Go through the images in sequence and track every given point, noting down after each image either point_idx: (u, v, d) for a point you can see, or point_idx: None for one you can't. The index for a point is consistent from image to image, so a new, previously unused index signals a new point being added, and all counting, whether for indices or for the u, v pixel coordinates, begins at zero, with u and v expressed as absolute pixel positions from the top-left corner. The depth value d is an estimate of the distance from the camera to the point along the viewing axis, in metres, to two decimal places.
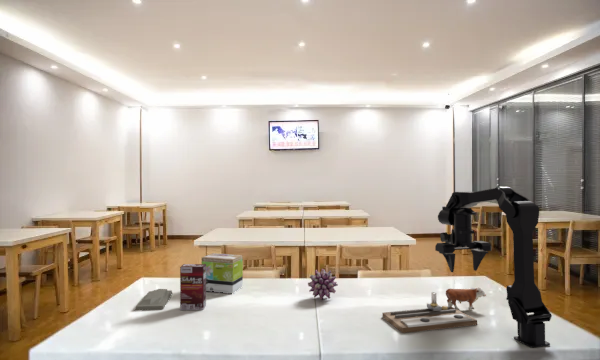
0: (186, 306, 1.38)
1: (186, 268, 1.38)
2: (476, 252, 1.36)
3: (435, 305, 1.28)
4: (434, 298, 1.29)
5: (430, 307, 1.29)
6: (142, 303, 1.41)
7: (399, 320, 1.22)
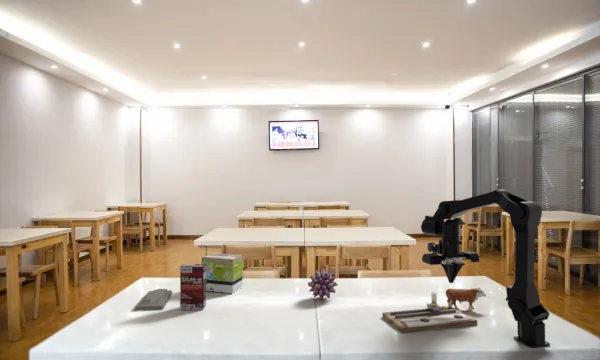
0: (186, 306, 1.38)
1: (186, 268, 1.38)
2: (453, 264, 1.31)
3: (435, 305, 1.28)
4: (434, 298, 1.29)
5: (430, 307, 1.29)
6: (142, 303, 1.41)
7: (399, 320, 1.22)
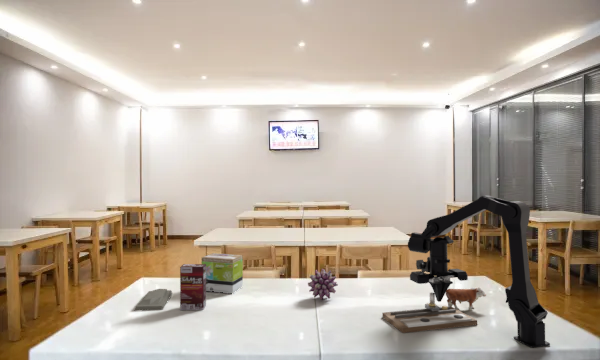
0: (186, 306, 1.38)
1: (186, 268, 1.38)
2: (441, 282, 1.30)
3: (433, 305, 1.28)
4: (432, 298, 1.28)
5: (428, 307, 1.29)
6: (142, 303, 1.41)
7: (399, 320, 1.22)
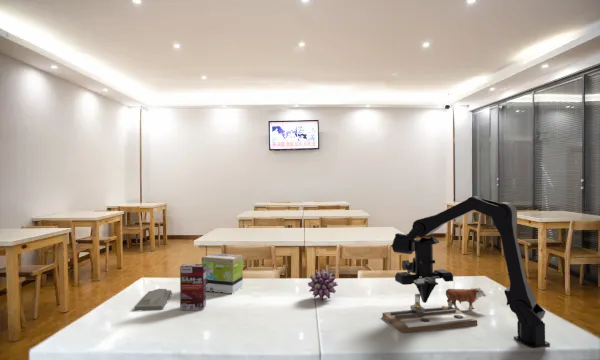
0: (186, 306, 1.38)
1: (186, 268, 1.38)
2: (426, 283, 1.28)
3: (418, 307, 1.27)
4: (417, 299, 1.27)
5: (413, 309, 1.27)
6: (142, 303, 1.41)
7: (399, 320, 1.22)
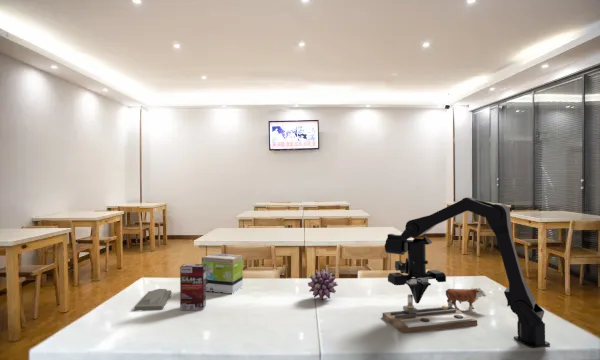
0: (186, 306, 1.38)
1: (186, 268, 1.38)
2: (419, 283, 1.28)
3: (411, 307, 1.26)
4: (410, 300, 1.27)
5: (406, 309, 1.27)
6: (142, 303, 1.41)
7: (399, 320, 1.22)
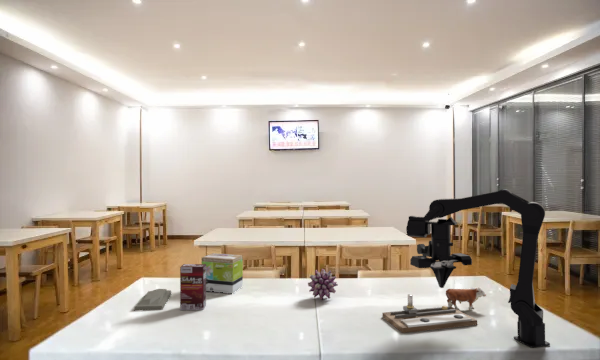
0: (186, 306, 1.38)
1: (186, 268, 1.38)
2: (443, 267, 1.21)
3: (411, 307, 1.26)
4: (410, 300, 1.27)
5: (406, 309, 1.27)
6: (141, 303, 1.41)
7: (399, 320, 1.22)
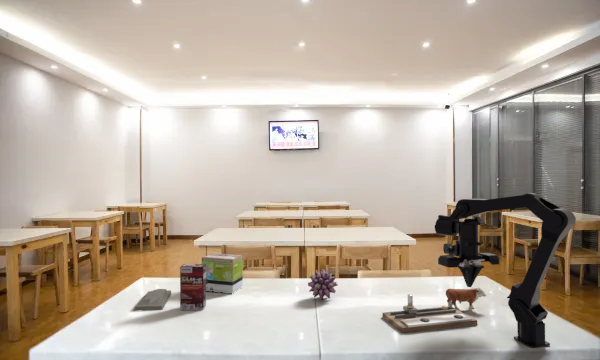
0: (186, 306, 1.38)
1: (186, 268, 1.38)
2: (471, 266, 1.22)
3: (411, 307, 1.26)
4: (410, 300, 1.27)
5: (406, 309, 1.27)
6: (141, 303, 1.41)
7: (399, 320, 1.22)
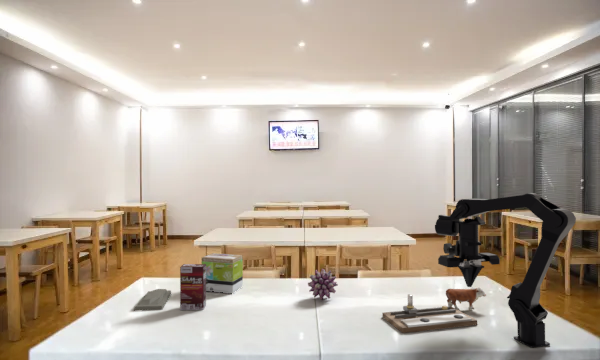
0: (186, 306, 1.38)
1: (186, 268, 1.38)
2: (471, 266, 1.22)
3: (411, 307, 1.26)
4: (410, 300, 1.27)
5: (406, 309, 1.27)
6: (141, 303, 1.41)
7: (399, 320, 1.22)
